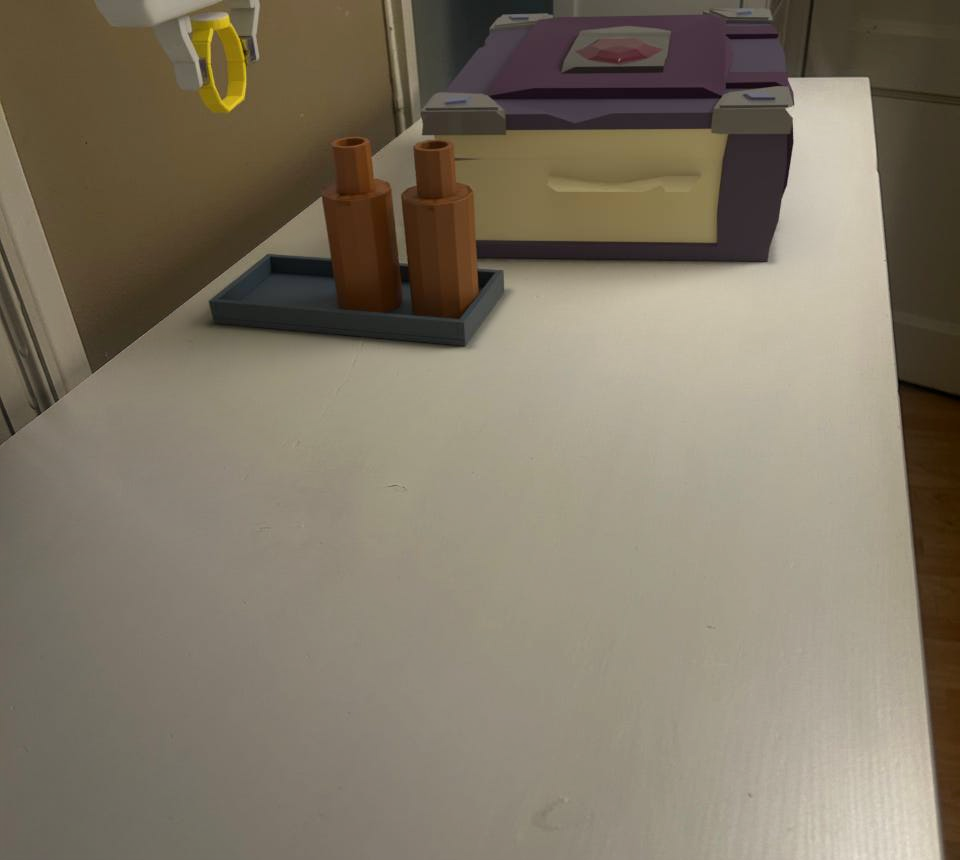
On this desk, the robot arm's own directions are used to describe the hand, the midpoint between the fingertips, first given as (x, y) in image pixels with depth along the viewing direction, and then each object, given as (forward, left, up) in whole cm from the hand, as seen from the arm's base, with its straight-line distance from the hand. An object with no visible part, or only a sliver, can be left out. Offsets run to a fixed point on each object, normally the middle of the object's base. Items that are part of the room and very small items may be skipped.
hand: (220, 75), depth 71 cm
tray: (+6, +5, -19) cm, 21 cm away
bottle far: (+14, +5, -19) cm, 24 cm away
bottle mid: (+7, +5, -19) cm, 21 cm away
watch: (0, 0, -2) cm, 2 cm away
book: (+22, +41, -19) cm, 51 cm away
